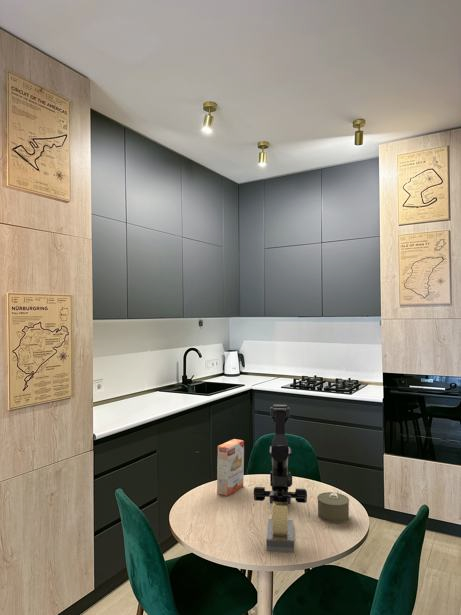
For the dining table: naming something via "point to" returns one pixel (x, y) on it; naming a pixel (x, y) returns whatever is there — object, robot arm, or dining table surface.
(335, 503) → the can
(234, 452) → the cracker box
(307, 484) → the dining table surface
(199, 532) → the dining table surface
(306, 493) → the robot arm
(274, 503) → the lever
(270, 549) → the rail
